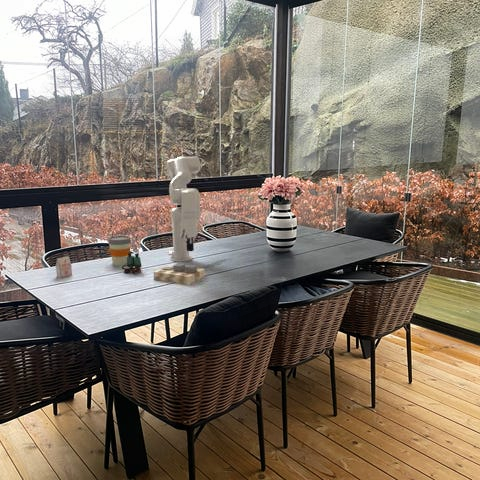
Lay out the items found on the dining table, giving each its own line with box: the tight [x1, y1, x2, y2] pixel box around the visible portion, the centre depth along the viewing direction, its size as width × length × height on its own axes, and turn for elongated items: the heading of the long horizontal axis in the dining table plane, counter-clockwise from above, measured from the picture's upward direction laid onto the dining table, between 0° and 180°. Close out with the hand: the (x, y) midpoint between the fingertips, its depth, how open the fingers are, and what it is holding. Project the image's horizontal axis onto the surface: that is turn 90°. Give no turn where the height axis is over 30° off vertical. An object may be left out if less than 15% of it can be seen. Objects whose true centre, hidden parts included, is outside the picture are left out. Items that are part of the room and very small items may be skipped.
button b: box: [172, 262, 186, 272], centre depth 251 cm, size 4×4×4 cm
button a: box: [161, 266, 174, 271], centre depth 255 cm, size 4×4×4 cm
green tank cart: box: [121, 251, 143, 275], centre depth 261 cm, size 9×11×10 cm
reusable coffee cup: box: [107, 235, 131, 266], centre depth 281 cm, size 13×13×15 cm
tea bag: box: [55, 256, 73, 279], centre depth 256 cm, size 4×7×10 cm, turn 141°
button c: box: [185, 264, 198, 274], centre depth 248 cm, size 4×4×4 cm
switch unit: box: [153, 264, 206, 285], centre depth 252 cm, size 21×16×4 cm
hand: (190, 250), depth 246 cm, fingers closed
